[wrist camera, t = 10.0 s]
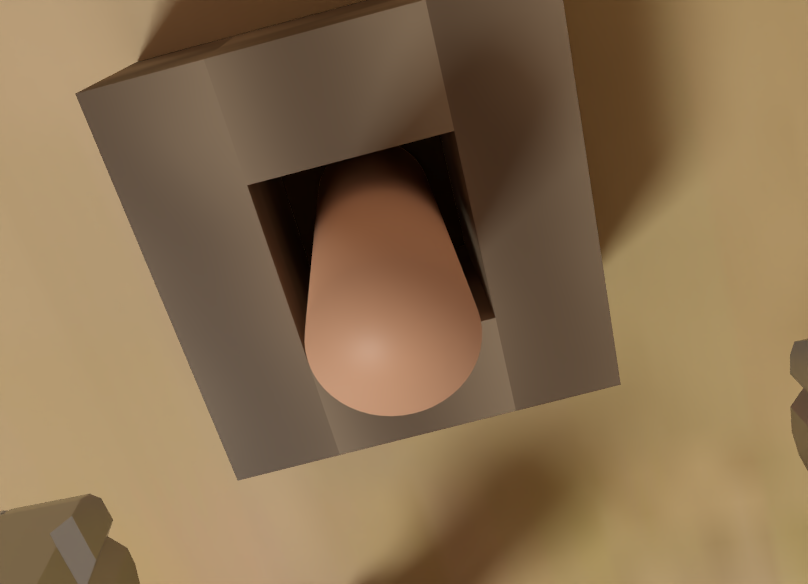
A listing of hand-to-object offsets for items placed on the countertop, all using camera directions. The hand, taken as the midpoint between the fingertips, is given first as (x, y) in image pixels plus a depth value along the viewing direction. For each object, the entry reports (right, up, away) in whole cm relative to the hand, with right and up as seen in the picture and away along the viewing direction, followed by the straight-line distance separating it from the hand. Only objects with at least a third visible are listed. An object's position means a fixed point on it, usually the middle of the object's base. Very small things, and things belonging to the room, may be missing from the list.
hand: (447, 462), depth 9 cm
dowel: (-1, +5, +13) cm, 14 cm away
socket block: (-1, +5, +13) cm, 14 cm away
